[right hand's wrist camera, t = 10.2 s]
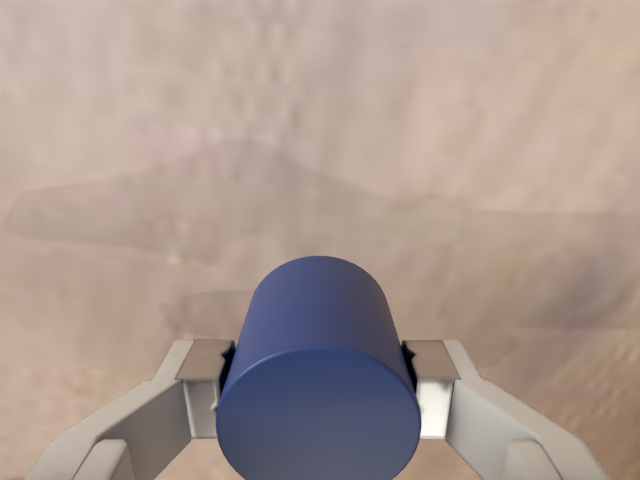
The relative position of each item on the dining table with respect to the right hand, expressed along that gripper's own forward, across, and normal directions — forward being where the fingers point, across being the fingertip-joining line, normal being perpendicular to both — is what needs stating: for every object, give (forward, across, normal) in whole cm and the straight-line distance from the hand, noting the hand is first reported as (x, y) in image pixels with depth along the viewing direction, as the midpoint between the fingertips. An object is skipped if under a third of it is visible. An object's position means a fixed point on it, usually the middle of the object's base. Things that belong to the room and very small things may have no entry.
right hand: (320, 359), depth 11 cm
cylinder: (+2, 0, 0) cm, 2 cm away
